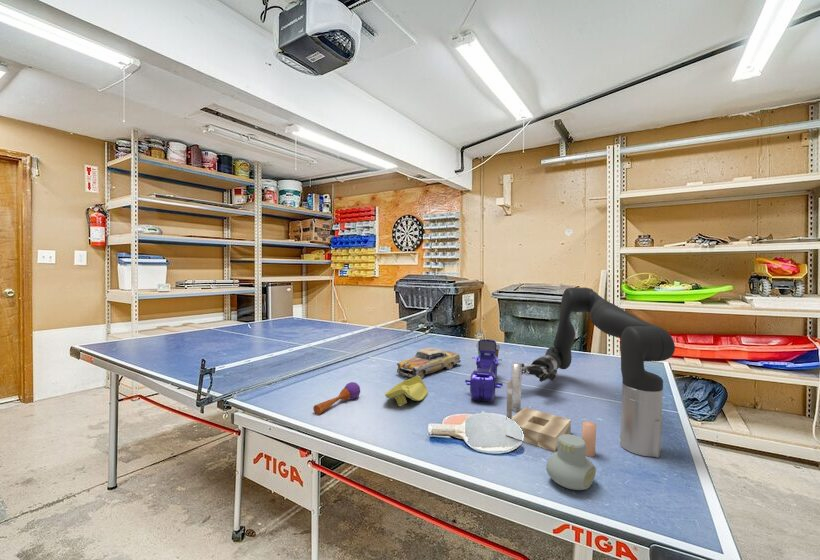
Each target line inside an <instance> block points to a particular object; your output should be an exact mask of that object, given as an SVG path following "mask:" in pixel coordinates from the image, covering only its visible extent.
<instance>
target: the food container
mask: <svg viewBox="0 0 820 560" xmlns="http://www.w3.org/2000/svg"><path fill="white" fill-rule="evenodd" d="M478 344H479V340H478V341H477V342H476V348H477V357H478V356H479V355H480V354H481V353H480V352H479V346H478ZM500 346H501V345H500V344H496V353H495V354H494V355H495V356H496V358H498V359H499V351H500V349H501V347H500ZM484 354H486V355H487V354H488V355H489V353H484Z"/></svg>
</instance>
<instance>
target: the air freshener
mask: <svg viewBox="0 0 820 560" xmlns="http://www.w3.org/2000/svg"><path fill="white" fill-rule="evenodd" d="M545 470H546V472H547V475H548V476H549V478H551V480H552V481H553V482H554V483H556V484H557V485H559V486H561V487H563V488H566V489H568V490H569V489H570V490H574V491H583V490H588V488H590V487H591V485H592V483H594V479H595V477H596V473H597V469H596V466H595V465H594V463H593V462H592V461H591V460H590V459H589V458H588V457H587V456H586V443H585V441H584V440H583V439H582V437H580V436H577V435H574V434H571V433H570V434H564V435H561V436H559V437H558V449H557V450H556V451H555V452H553V453H552V454H551V455H550V456H549V458H548V460H547V462H546V466H545Z"/></svg>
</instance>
